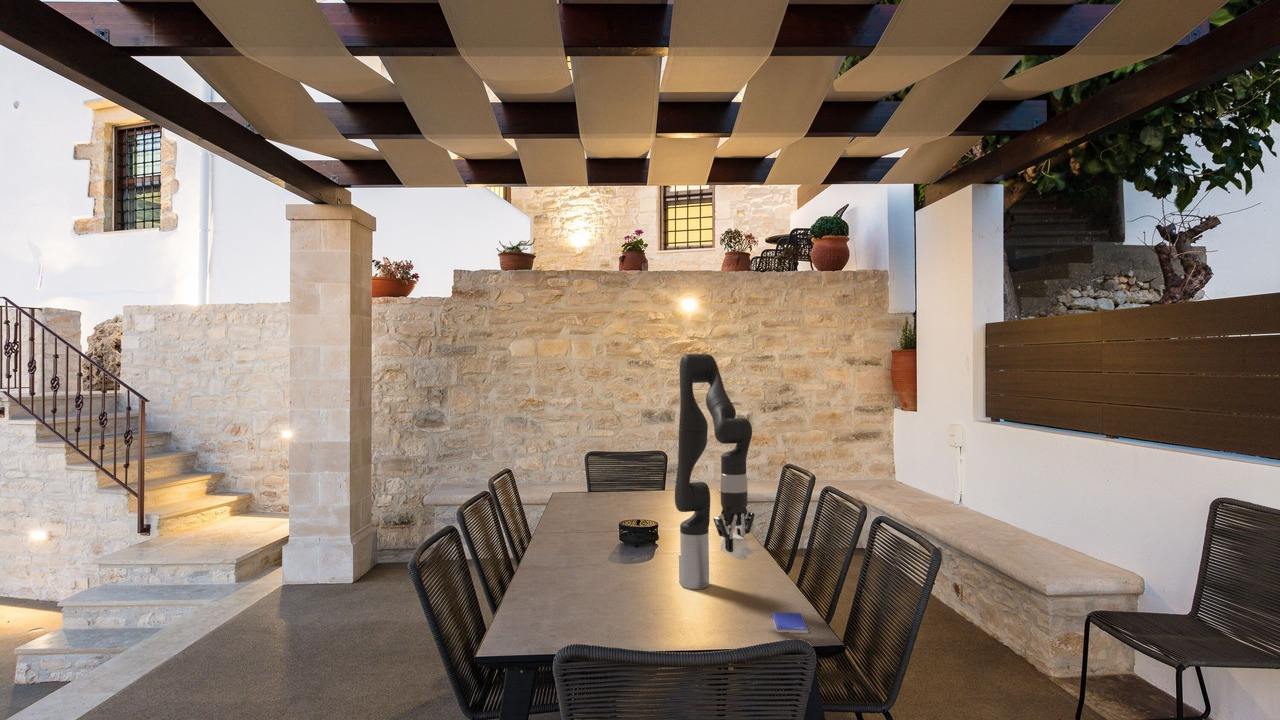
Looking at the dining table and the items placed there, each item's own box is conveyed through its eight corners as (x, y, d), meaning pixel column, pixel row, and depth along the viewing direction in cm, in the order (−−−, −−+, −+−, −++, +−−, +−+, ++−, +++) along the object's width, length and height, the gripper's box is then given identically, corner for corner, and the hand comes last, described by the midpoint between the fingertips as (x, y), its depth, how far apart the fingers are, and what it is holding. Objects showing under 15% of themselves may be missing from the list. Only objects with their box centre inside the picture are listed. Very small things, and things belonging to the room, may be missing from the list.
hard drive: (808, 629, 184) (801, 612, 196) (777, 628, 184) (772, 612, 197) (808, 635, 184) (801, 618, 196) (777, 634, 184) (772, 617, 197)
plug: (718, 549, 199) (719, 532, 198) (727, 547, 200) (728, 530, 200) (745, 562, 189) (746, 544, 189) (754, 560, 191) (755, 542, 191)
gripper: (743, 484, 202) (744, 544, 202) (706, 490, 195) (706, 551, 194) (761, 488, 196) (762, 549, 196) (723, 494, 188) (724, 557, 188)
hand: (734, 550), depth 195 cm, fingers closed on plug, 3 cm apart
